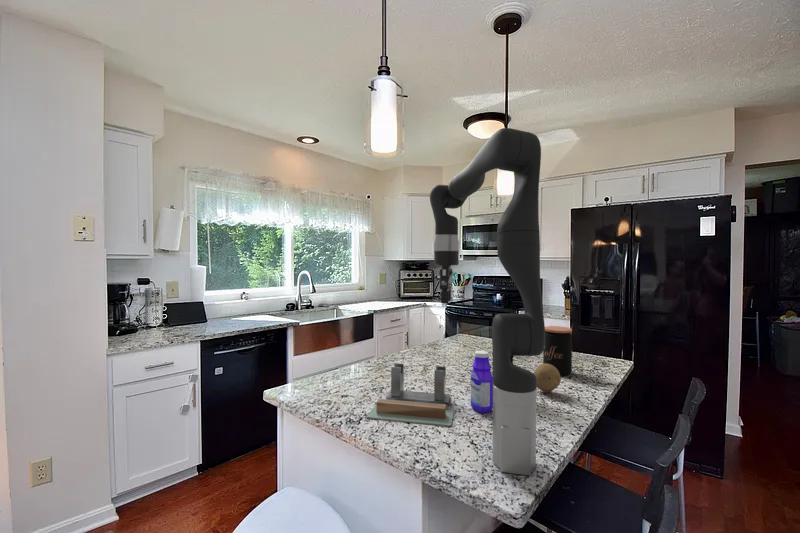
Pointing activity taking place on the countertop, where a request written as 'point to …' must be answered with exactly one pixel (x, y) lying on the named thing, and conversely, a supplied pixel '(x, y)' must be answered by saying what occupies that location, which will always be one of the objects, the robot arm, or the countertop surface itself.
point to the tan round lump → (547, 377)
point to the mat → (412, 418)
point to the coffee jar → (558, 349)
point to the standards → (435, 398)
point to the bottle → (481, 383)
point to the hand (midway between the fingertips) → (446, 302)
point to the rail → (411, 408)
